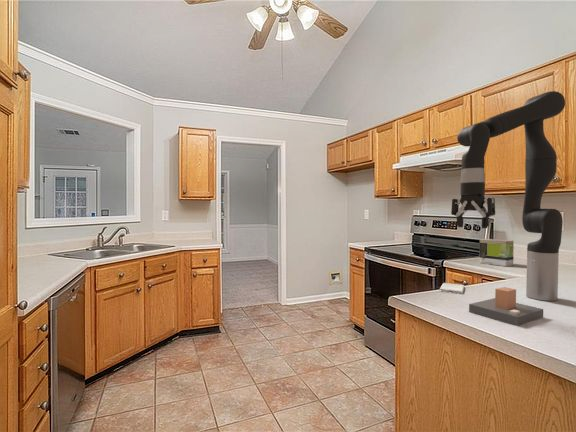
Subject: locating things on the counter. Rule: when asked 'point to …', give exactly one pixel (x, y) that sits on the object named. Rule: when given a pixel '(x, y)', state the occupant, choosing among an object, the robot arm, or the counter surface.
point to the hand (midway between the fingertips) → (472, 227)
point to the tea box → (496, 252)
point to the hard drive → (452, 288)
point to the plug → (505, 297)
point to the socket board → (506, 312)
